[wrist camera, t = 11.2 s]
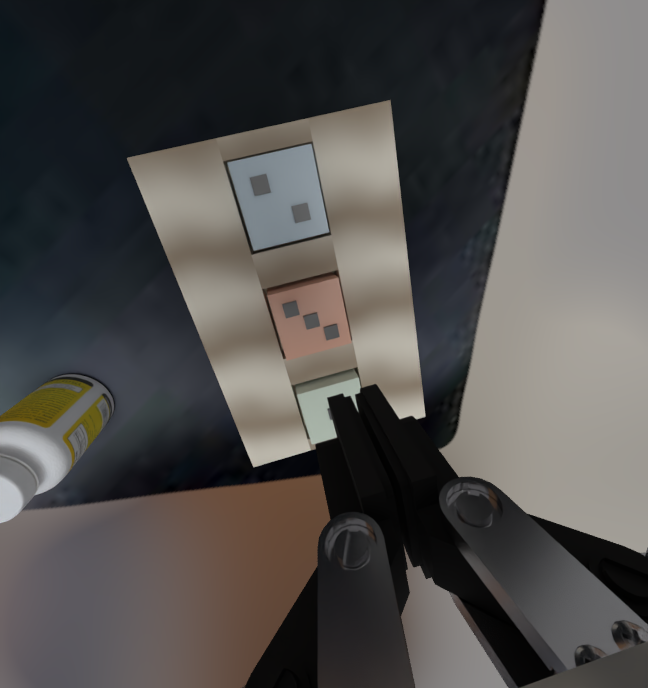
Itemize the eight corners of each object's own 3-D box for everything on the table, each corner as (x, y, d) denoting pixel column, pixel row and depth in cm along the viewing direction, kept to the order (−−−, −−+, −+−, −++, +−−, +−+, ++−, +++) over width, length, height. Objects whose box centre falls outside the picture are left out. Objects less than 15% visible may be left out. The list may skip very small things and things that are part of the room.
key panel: (145, 166, 21) (126, 157, 18) (374, 115, 22) (390, 100, 19) (254, 444, 30) (253, 467, 27) (411, 399, 31) (425, 416, 28)
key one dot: (293, 377, 27) (297, 396, 24) (349, 361, 27) (359, 378, 24) (307, 423, 29) (312, 446, 26) (359, 408, 29) (369, 429, 26)
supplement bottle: (24, 396, 25) (-114, 495, 16) (79, 359, 25) (-31, 440, 16) (80, 439, 27) (-14, 549, 18) (130, 407, 27) (61, 501, 18)
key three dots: (267, 287, 24) (267, 296, 21) (330, 271, 24) (339, 278, 21) (284, 345, 26) (286, 361, 23) (342, 330, 26) (352, 344, 23)
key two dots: (232, 170, 21) (226, 162, 18) (305, 153, 21) (311, 142, 18) (255, 247, 23) (253, 251, 20) (321, 230, 23) (329, 232, 20)
